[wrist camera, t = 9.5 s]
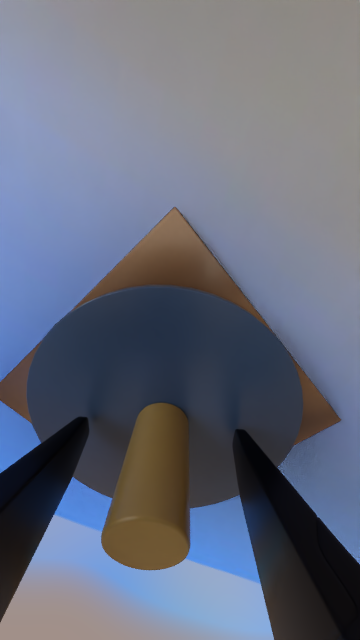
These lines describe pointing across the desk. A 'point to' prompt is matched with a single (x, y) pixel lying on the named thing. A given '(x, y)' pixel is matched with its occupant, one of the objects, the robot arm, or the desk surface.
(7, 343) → the desk surface
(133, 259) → the coaster
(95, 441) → the tin lid
